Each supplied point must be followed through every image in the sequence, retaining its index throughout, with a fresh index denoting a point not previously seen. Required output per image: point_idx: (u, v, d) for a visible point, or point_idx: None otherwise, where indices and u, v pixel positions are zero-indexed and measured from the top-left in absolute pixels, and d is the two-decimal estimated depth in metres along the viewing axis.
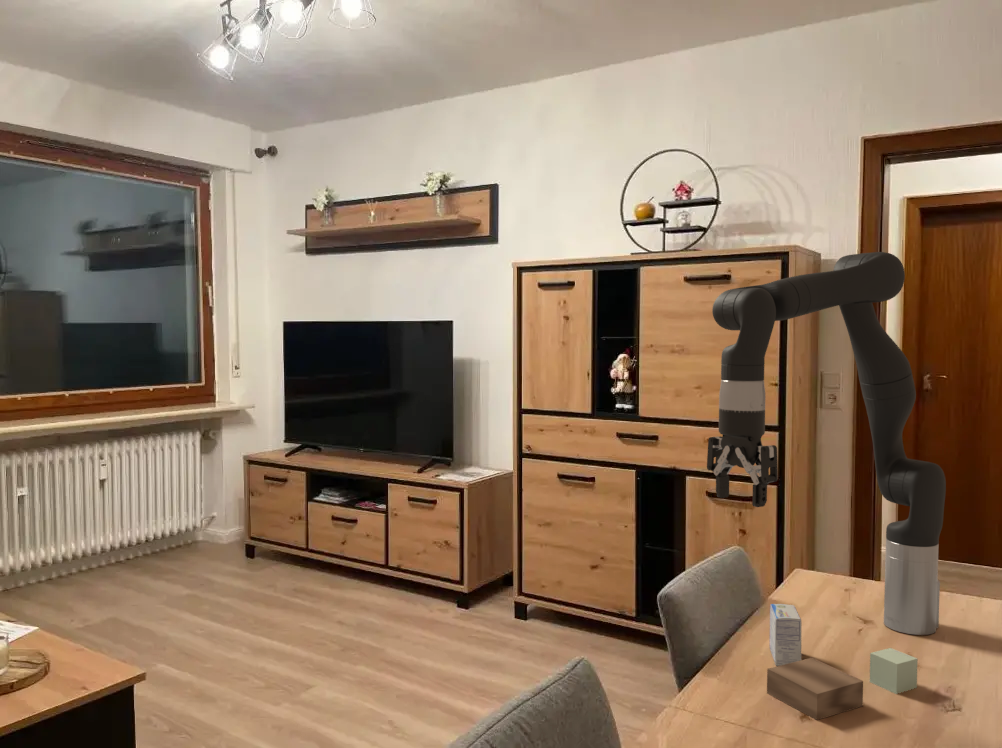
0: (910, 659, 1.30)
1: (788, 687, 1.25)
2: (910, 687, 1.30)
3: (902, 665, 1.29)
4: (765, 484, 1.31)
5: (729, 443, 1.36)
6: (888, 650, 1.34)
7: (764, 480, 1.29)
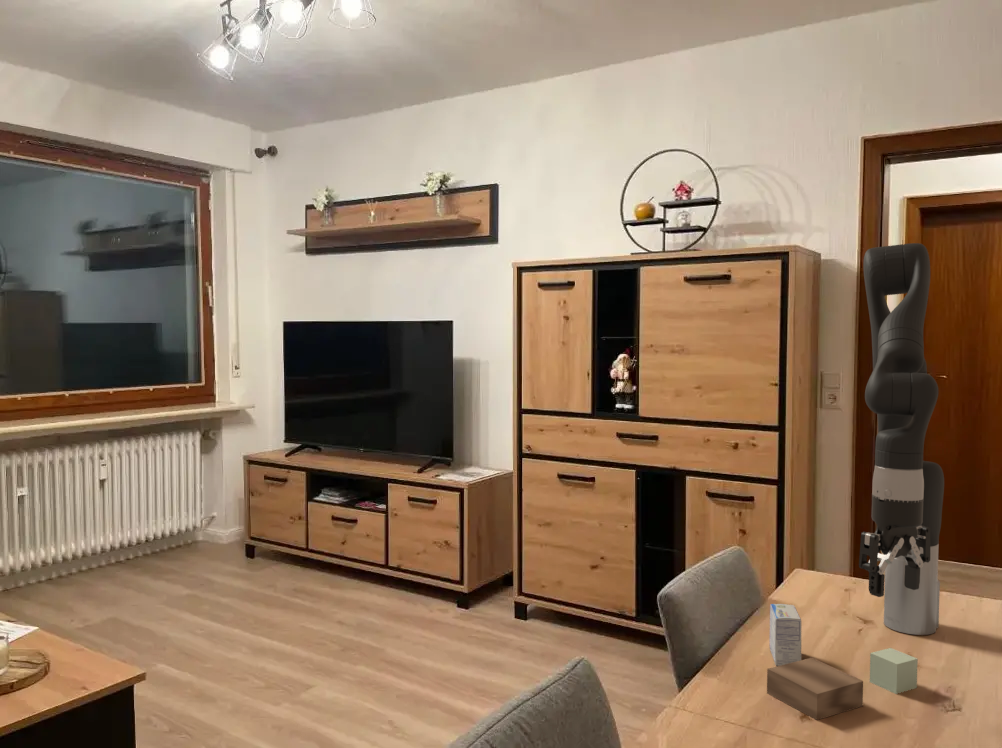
0: (910, 659, 1.30)
1: (788, 687, 1.25)
2: (910, 687, 1.30)
3: (902, 665, 1.29)
4: None
5: (895, 535, 1.29)
6: (888, 650, 1.34)
7: (929, 560, 1.33)
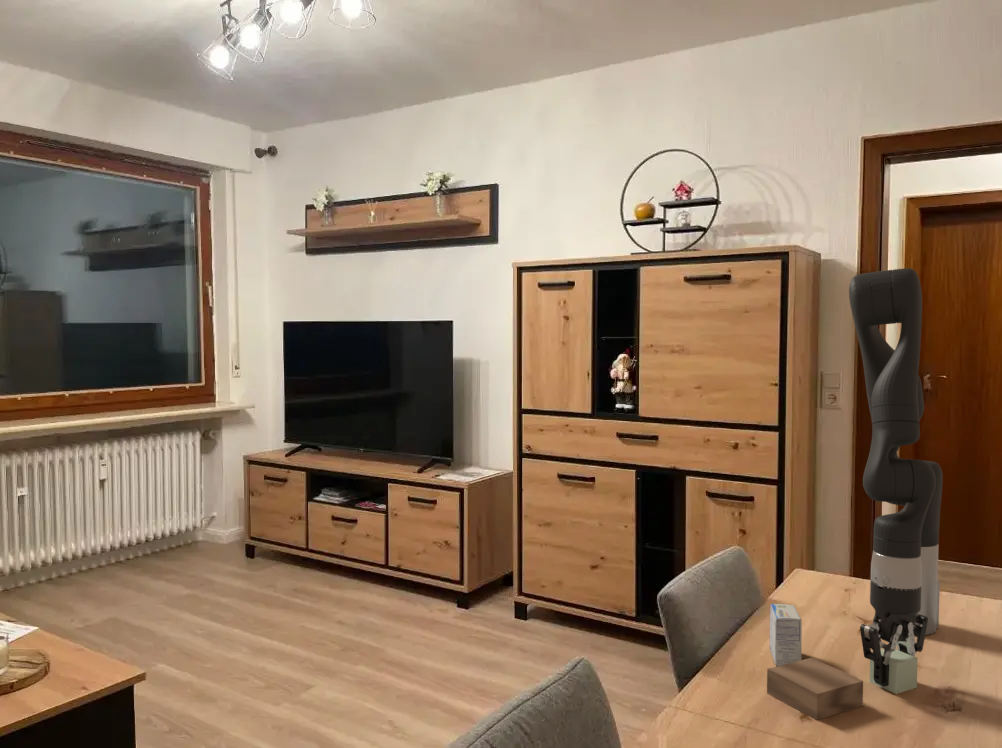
0: (910, 658, 1.30)
1: (788, 687, 1.25)
2: (910, 686, 1.30)
3: (902, 664, 1.29)
4: None
5: (893, 621, 1.30)
6: None
7: (921, 649, 1.33)
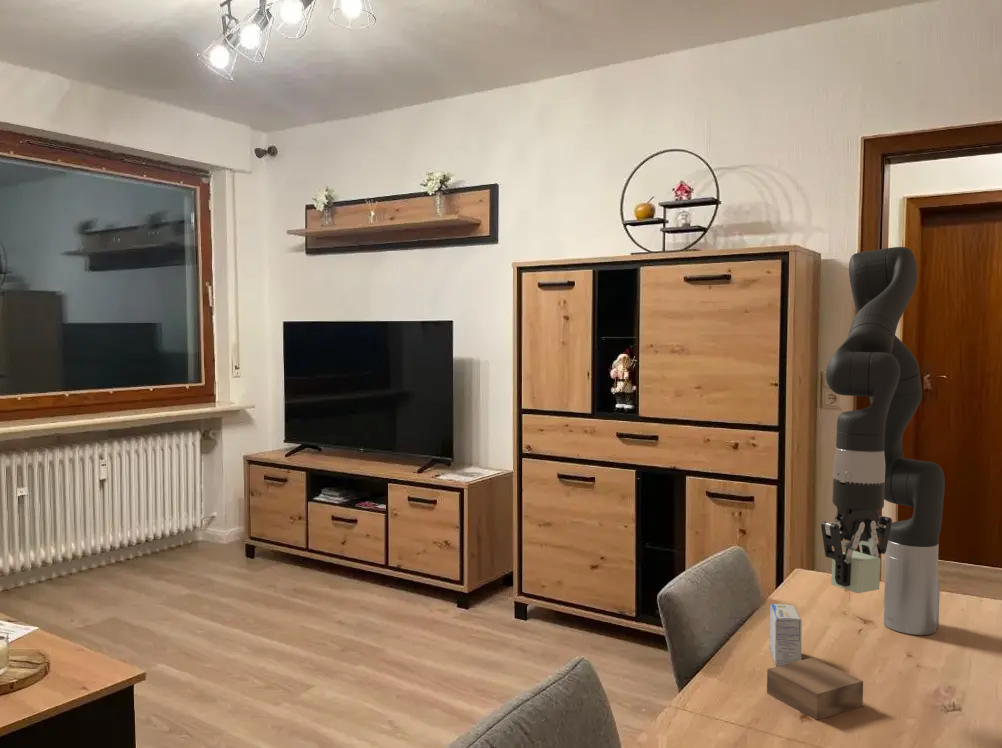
0: (873, 558, 1.26)
1: (788, 687, 1.25)
2: (872, 587, 1.26)
3: (864, 563, 1.25)
4: None
5: (856, 519, 1.26)
6: None
7: (884, 551, 1.29)
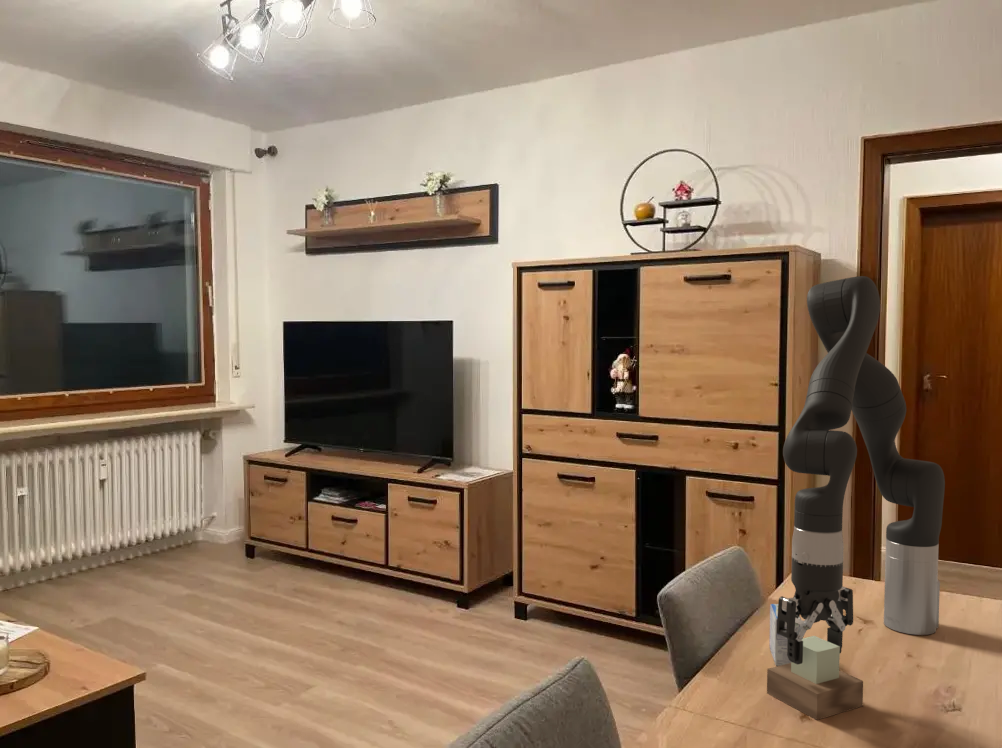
0: (832, 647, 1.25)
1: (788, 687, 1.25)
2: (831, 676, 1.24)
3: (822, 653, 1.23)
4: None
5: (814, 599, 1.24)
6: (811, 638, 1.28)
7: (851, 623, 1.28)
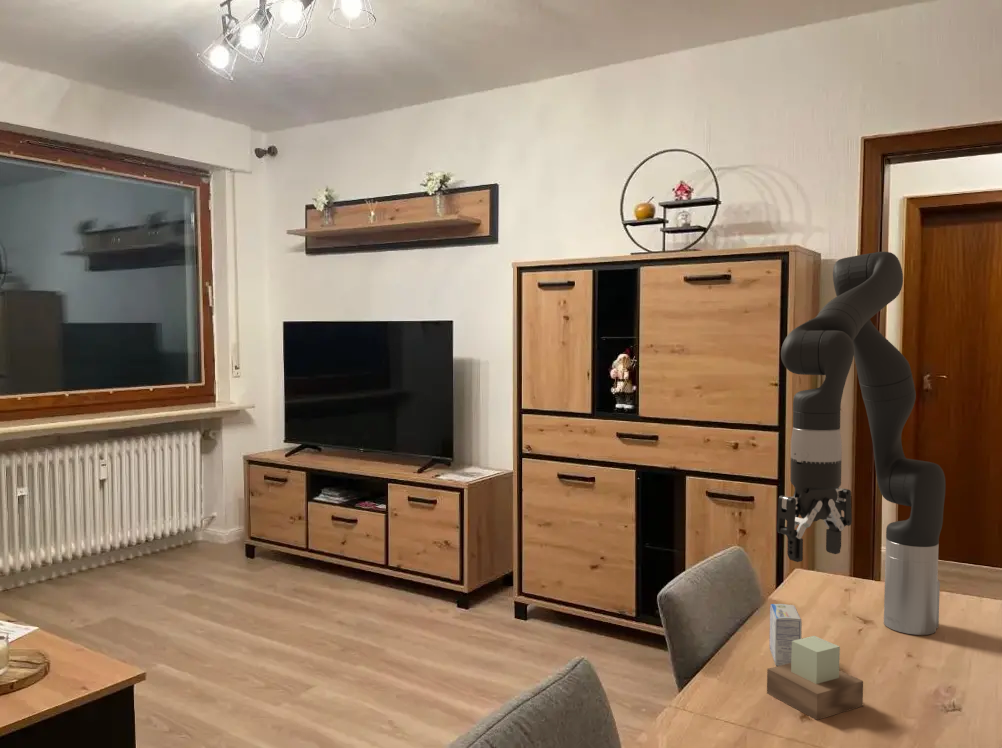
0: (832, 647, 1.25)
1: (788, 687, 1.25)
2: (831, 676, 1.24)
3: (822, 653, 1.23)
4: None
5: (813, 498, 1.25)
6: (811, 638, 1.28)
7: (850, 523, 1.29)
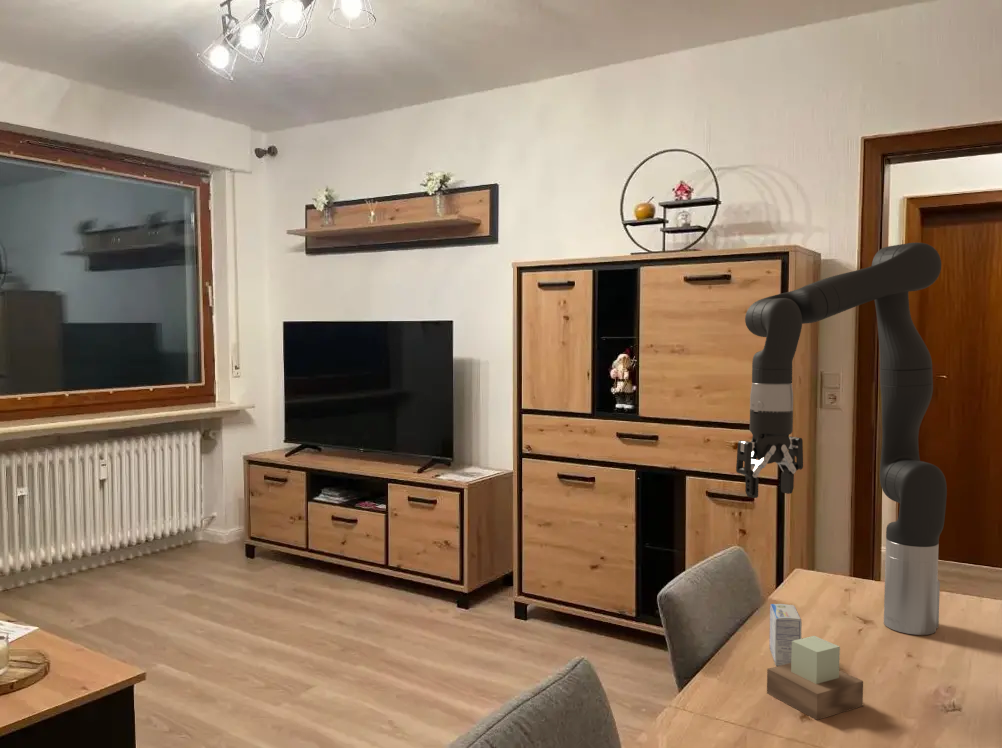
0: (832, 647, 1.25)
1: (788, 687, 1.25)
2: (831, 676, 1.24)
3: (822, 653, 1.23)
4: None
5: (768, 443, 1.45)
6: (811, 638, 1.28)
7: (801, 467, 1.49)
